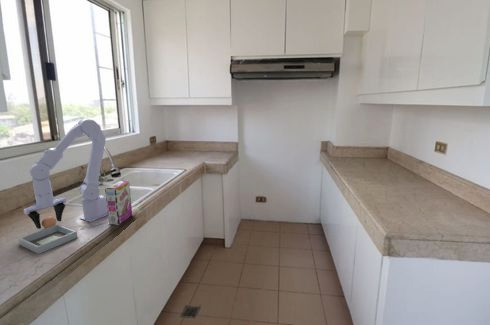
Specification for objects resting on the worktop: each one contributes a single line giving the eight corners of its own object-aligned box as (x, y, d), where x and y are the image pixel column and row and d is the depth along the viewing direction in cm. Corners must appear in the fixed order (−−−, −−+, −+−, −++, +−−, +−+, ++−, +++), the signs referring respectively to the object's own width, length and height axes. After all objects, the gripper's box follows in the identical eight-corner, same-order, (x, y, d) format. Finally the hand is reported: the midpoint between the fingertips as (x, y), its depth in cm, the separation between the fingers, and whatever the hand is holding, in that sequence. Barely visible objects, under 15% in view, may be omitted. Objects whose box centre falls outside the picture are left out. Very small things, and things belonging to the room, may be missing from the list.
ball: (53, 224, 115) (51, 213, 114) (59, 226, 112) (57, 215, 111) (40, 229, 111) (37, 217, 109) (46, 231, 108) (44, 220, 107)
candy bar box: (119, 225, 113) (115, 188, 109) (108, 225, 113) (103, 188, 110) (133, 215, 124) (129, 180, 120) (123, 214, 124) (119, 180, 121)
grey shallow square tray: (58, 230, 109) (57, 224, 109) (77, 237, 103) (76, 231, 103) (20, 244, 98) (18, 238, 98) (38, 253, 92) (37, 247, 91)
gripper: (57, 187, 116) (62, 216, 119) (17, 197, 104) (23, 229, 107) (66, 189, 113) (71, 219, 116) (26, 200, 101) (32, 233, 104)
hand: (49, 224), depth 111 cm, fingers open, 7 cm apart
